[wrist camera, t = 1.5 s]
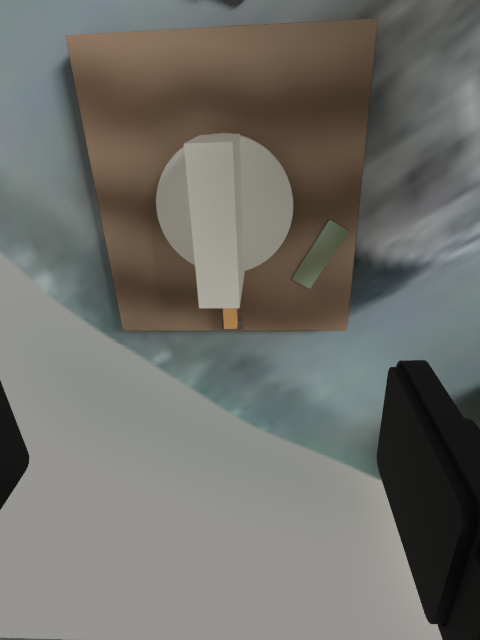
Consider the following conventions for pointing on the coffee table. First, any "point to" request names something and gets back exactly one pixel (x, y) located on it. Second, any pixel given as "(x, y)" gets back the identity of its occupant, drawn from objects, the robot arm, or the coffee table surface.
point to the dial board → (233, 117)
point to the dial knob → (224, 213)
